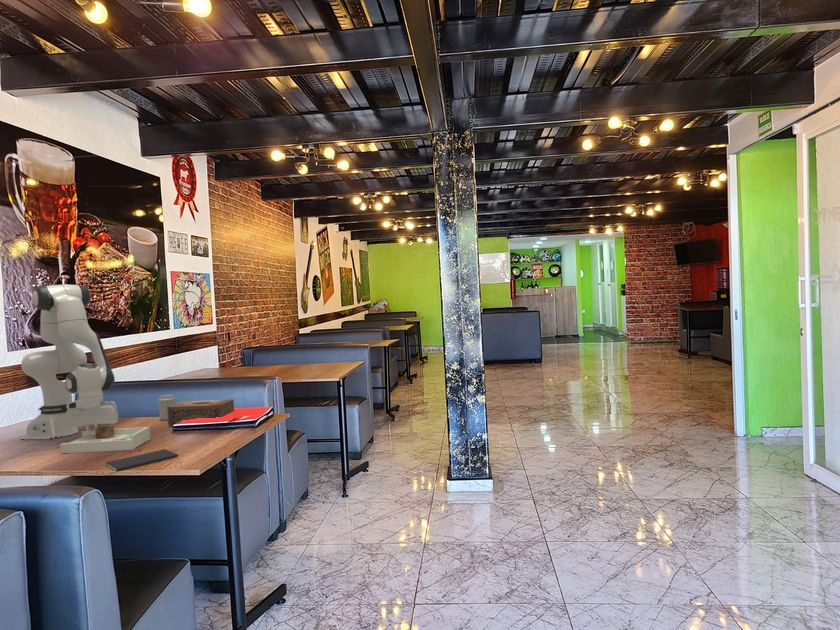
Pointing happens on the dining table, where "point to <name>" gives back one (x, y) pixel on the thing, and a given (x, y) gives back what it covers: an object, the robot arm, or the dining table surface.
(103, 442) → the box
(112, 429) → the walnut block
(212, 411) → the tissue box cover
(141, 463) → the notebook
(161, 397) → the can
